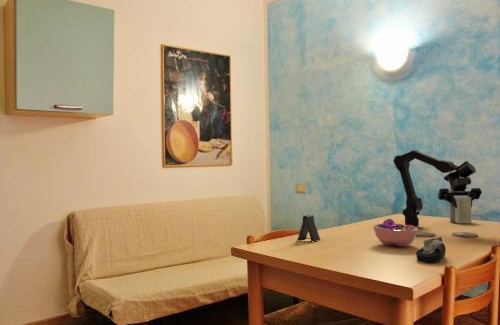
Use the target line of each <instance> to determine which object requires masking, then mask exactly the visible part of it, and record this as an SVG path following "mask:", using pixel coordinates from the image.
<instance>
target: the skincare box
mask: <svg viewBox="0 0 500 325" xmlns="http://www.w3.org/2000/svg"><path fill="white" fill-rule="evenodd" d="M454 198H455V201H456V204H457V208H455V222H457V223H456V224H460V223H465V224H472V208H471V198H470V197H468V196H454Z"/></svg>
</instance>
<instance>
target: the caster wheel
mask: <svg viewBox="0 0 500 325" xmlns="http://www.w3.org/2000/svg"><path fill="white" fill-rule="evenodd" d="M422 241H423V243H422V244H423V246H422V247H421V248H419V249H418V250H417V251H416V252H415V255H416V259H417V261H418V262H419V261H421V262H420V263H422V262H425V263H424V264H433V263H437V262H443V261H444V259H445V258H446V252H447V250H446V245H445V244H444V243H443V242H444V241H443V239H442V236H438V237H434V238H429V239H425V240H422Z"/></svg>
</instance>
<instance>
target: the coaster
mask: <svg viewBox="0 0 500 325" xmlns="http://www.w3.org/2000/svg"><path fill="white" fill-rule="evenodd" d="M416 237H417V238H432V237H436V234H435V233H434V232H429V231H417V233H416Z"/></svg>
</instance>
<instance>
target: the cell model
mask: <svg viewBox="0 0 500 325" xmlns="http://www.w3.org/2000/svg"><path fill="white" fill-rule="evenodd" d="M372 228H373V230H374V233H375V234H374V235H375V237H376V238H377V239H378V241H379V242H380V243H381V244H383V245H386V246H392V247H393V246H394V247H395V246H396V247H406V246H410V245H411V244H412V243H414V241H415V240H416V237H417V236H416V233H417V232H419V228H418V227H415V226H412V225H405V223H403V224H402V223H395V221H394V220H393V219H392V218H386V219H385V220H384V221H383V223H380V224H379V223H378V224H375V225H373V226H372Z"/></svg>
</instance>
